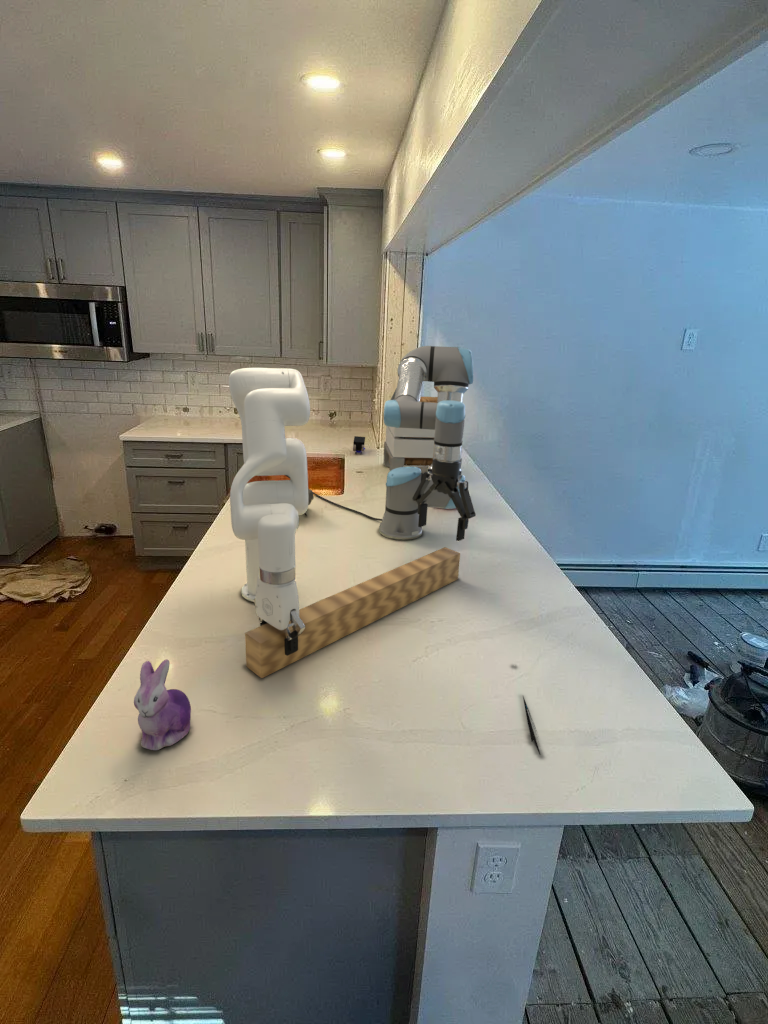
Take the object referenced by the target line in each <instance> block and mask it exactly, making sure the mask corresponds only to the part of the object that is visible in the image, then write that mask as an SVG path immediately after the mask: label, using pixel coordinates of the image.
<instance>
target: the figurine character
mask: <svg viewBox="0 0 768 1024" xmlns="http://www.w3.org/2000/svg"><path fill="white" fill-rule="evenodd" d="M365 442H366V436H358V435H354V436H353V444H352V451H353V452H355V454H354V455H357V453H358V454H360V455H362V454H363V452H365V450H366V447H365Z"/></svg>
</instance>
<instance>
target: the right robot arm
mask: <svg viewBox="0 0 768 1024" xmlns="http://www.w3.org/2000/svg"><path fill="white" fill-rule="evenodd" d="M397 376H398V380H397V385H396V388H397V389H396V388H395V390H396V393H395V398H394V400H391V399H388V400H386V401H385V402H384V407H383V424H384V425H385V426H389V427H396V428H415V429H430V430H435V437H434V451H433V463H432V464H431V465H430V466H429V465H428V466H427V471H425V472H422V469H421V468H420V467H419V466H418V467H417V466H404V467H399V468H395V469H393V470H391V471H390V470H389V471H388V473H387V475H386V482H385V487H386V488H385V489H386V490H385V504H384V505H385V507H384V508H385V509H384V513H383V515H382V518H377V517H373V516H370V515H368V514H366V513H363V512H361V511H358V510H356V509H353V508H349V507H346V506H344V505H341V504H339V503H336V502H333V501H332V500H329V499H327V498H325V497H322V496H321V495H320V494H318V493H315V492H314V491H312V492H313V496H316V497H317V498H319V499H322V500H323V501H325V502H327V503H330V504H332V505H334V506H337V507H338V508H341V509H345V510H348V511H351V512H353V513H356V514H359V515H362V516H364V517H366V518H368V519H371V520H374V521H379V526H378V533H379V534H380V535H381V536H382V537H385V538H387V539H389V540H395V541H410V540H415V539H418V538H420V537H421V536H422V535H423V527H425V526H427V520H428V508H434V509H444V510H447V509H452V510H453V509H456V510H457V513H458V514H459V516H460V517H458V519H457V528H456V539H455V540H456V541H457V542H460V541H463V540H464V539H465V536H466V530H468V527H469V520H470V519H472V518H474V517H476V515H477V514H476V510H475V508H474V504H473V501H472V497H471V494H470V491H469V490H470V489H469V482H468V480H466V476H465V475H463V474H462V468H461V469H460V463H461V464H462V462H460V461H459V460H460V459H461V458H462V453H463V443H462V441H463V439H464V432H463V430H464V429H465V421H464V420H465V419H466V404H465V403H464V394H465V393H466V392H467V391H468V390H469V385H472V384H473V383H474V358H473V352H472V350H471V349H469V348H467V347H460V346H440V345H439V346H437V345H436V346H435V345H421V346H419V347H416V348H414V349H412V350H410V351H409V352H407V353H406V354H405V355H404V356H403V357H402V358H401V360H400V361H399V364H398V366H397ZM423 382H431V383H433V388H434V390H435V391H436V393H437V396H436V397H437V403H431V402H420V397H421V396H422V395H421V394H422V388H423ZM464 431H465V430H464ZM284 476H285V477H287V478H288V479H290V477H289V476H288V475H284Z"/></svg>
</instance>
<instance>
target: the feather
mask: <svg viewBox="0 0 768 1024" xmlns="http://www.w3.org/2000/svg"><path fill="white" fill-rule="evenodd" d="M513 666H514V667H515V666H516V665H515V664H514V665H513ZM522 699H523V706H524V711H525V717H526V722H527V726H528V732H529V737H530V739H531V741H530V742H531V743H533V742H534V746H535V747H536V750H537V752H538V754H539V755H541V752H540V749H539V745H538V742H537V741H538V740H537V739H536V738H537V737H536V736H538V731H537V728H536V725H535V722H534V720H533V717H532V716H531V713H530V709H529V707H528V704H527V702H526V698H525V697H524V696H522ZM534 731H535V732H534Z"/></svg>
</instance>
